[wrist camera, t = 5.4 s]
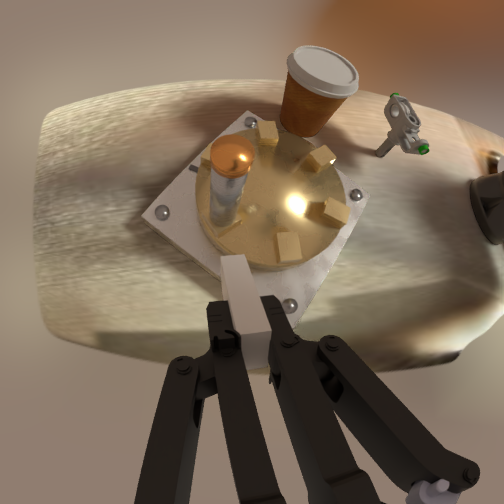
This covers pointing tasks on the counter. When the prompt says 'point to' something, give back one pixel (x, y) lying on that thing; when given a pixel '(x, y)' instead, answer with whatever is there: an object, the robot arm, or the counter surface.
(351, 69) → the disposable coffee cup
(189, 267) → the counter surface
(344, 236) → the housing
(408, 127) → the mechanical component
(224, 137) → the brass turntable plate
